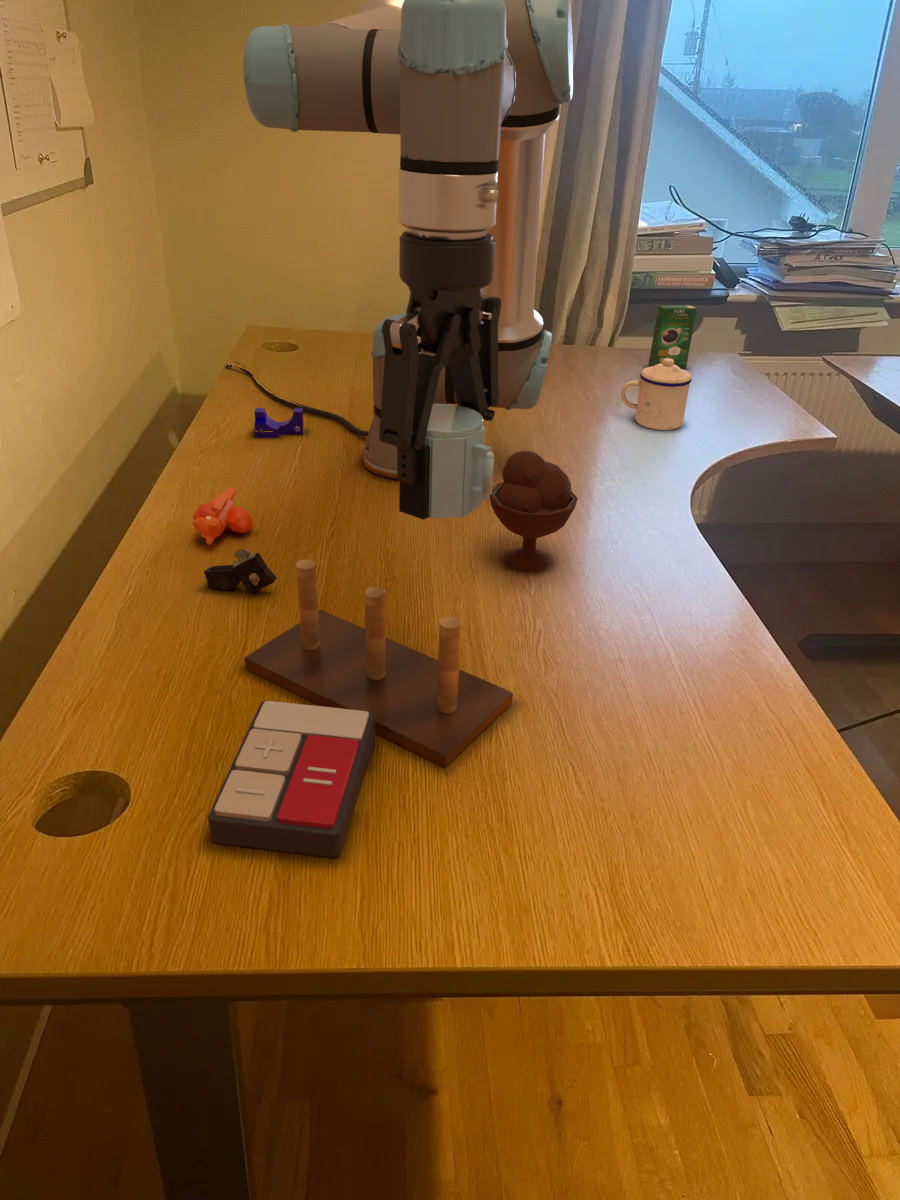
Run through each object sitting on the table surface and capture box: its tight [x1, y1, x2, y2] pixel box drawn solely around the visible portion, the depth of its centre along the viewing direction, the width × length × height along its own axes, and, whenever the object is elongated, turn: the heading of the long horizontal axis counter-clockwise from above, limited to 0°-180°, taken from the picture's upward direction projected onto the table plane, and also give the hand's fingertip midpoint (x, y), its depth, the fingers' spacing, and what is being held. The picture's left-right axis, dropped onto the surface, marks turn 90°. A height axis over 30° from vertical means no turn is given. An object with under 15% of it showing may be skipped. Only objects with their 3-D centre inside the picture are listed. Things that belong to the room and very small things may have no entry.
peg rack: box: [244, 559, 514, 768], centre depth 90 cm, size 26×12×12 cm, turn 55°
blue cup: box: [412, 404, 495, 520], centre depth 79 cm, size 9×7×8 cm
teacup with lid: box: [620, 358, 693, 431], centre depth 160 cm, size 12×9×12 cm
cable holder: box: [253, 407, 305, 439], centre depth 152 cm, size 8×4×4 cm, turn 94°
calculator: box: [207, 700, 376, 859], centre depth 79 cm, size 11×4×15 cm
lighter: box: [203, 548, 278, 595], centre depth 107 cm, size 8×2×5 cm
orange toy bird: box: [192, 486, 253, 546], centre depth 120 cm, size 5×8×12 cm
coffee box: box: [648, 304, 698, 369], centre depth 189 cm, size 8×3×13 cm, turn 103°
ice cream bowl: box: [489, 450, 579, 573], centre depth 113 cm, size 11×11×15 cm
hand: (440, 499), depth 81 cm, fingers closed on blue cup, 7 cm apart
